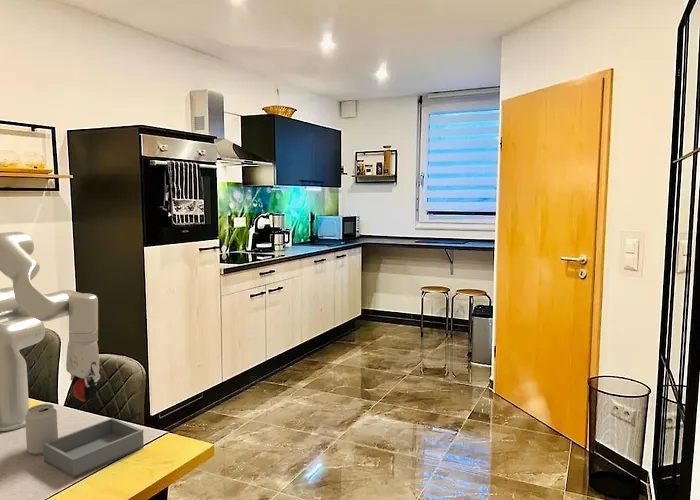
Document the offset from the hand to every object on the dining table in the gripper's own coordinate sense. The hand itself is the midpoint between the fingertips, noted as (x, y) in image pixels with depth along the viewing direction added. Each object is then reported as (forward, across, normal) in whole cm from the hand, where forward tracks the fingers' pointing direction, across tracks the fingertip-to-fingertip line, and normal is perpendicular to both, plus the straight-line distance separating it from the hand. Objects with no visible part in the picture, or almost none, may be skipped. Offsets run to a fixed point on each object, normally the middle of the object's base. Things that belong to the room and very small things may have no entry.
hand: (83, 395), depth 153 cm
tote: (+11, +16, -6) cm, 20 cm away
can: (+12, +2, -12) cm, 17 cm away
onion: (+2, 0, 0) cm, 2 cm away
